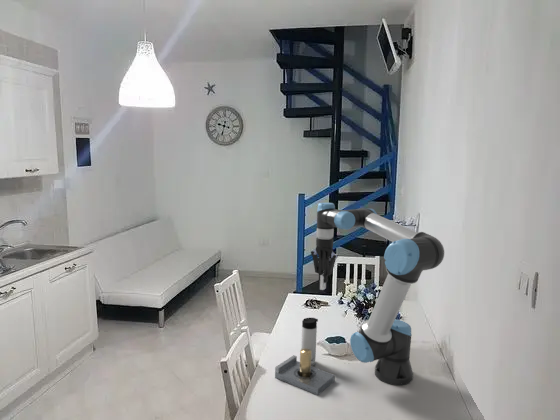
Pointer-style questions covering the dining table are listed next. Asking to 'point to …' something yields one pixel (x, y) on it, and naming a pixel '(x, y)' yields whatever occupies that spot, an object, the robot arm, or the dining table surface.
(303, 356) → the gold metal cylinder
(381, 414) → the dining table surface
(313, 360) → the travel mug
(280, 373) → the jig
